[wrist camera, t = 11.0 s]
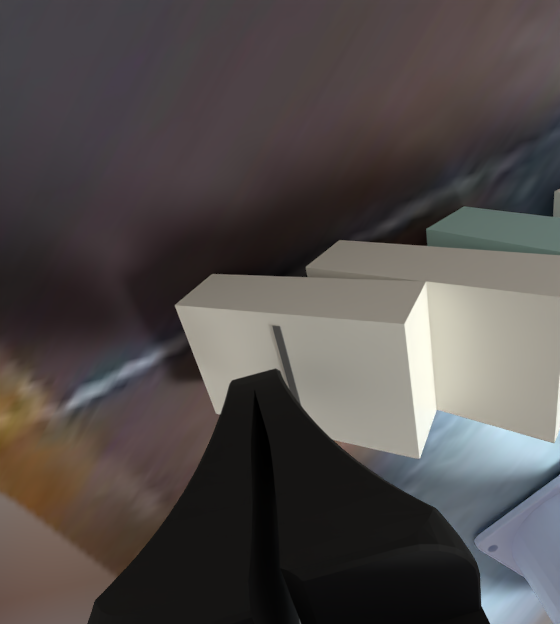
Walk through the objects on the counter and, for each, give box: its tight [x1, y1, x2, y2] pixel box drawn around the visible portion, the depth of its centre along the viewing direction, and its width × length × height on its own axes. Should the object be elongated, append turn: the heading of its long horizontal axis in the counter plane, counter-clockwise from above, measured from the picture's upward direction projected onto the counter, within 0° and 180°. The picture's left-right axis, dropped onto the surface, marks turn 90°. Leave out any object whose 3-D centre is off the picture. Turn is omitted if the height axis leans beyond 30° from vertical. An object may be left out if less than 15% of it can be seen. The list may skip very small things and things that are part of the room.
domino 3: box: [305, 240, 560, 443], centre depth 14 cm, size 2×4×7 cm
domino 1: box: [175, 274, 437, 459], centre depth 14 cm, size 2×4×7 cm
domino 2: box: [426, 206, 560, 255], centre depth 14 cm, size 2×4×7 cm, turn 13°
